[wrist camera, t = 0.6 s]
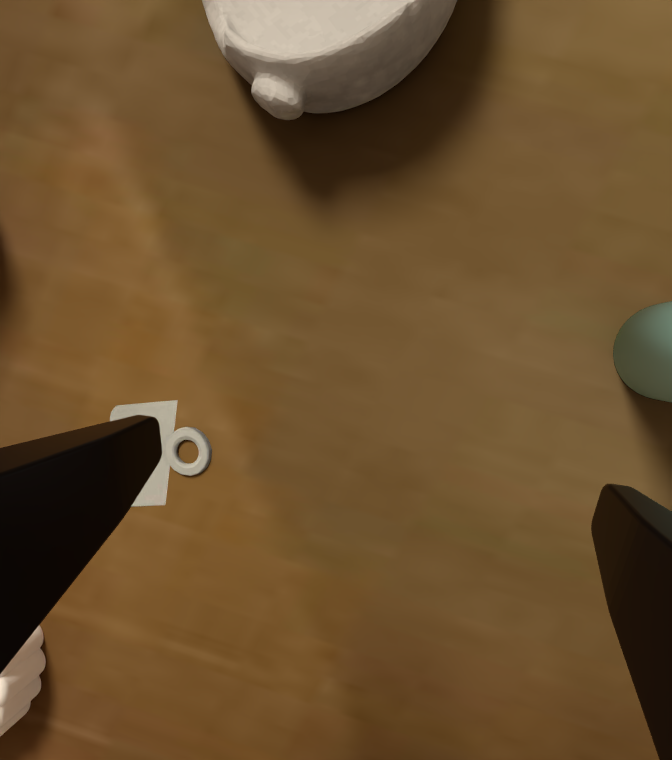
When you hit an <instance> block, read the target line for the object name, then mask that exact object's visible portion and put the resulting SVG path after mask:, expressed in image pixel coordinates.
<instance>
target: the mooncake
mask: <svg viewBox="0 0 672 760" xmlns="http://www.w3.org/2000/svg"><path fill="white" fill-rule="evenodd" d="M43 640H44V636H43V631H42V629H41V627H40V626H38V627H37V628H36V630H35V631H34V632H33V633H32V635H31V636H30V637H29V639H28V640H27V641H26V642H25V644H24V645H23V646H22V647H21V649H20V650H19V651H18V652H17V654H16V655H15V656H14V658H13V659H12V660H11V661H10V663H9V664H8V665H7V666H6V668H5V669H4V670H3V671H2V673H1V674H0V736H2V735H3V734H4V733H5V732H6V731H7V730H8V729H9V728H10V727H12V726H13V725H14V724H15V723H16V722H17V721H18V720H19V719H21V718H22V717H23V716H24V715H25V714H26V713H27V712H28V710H29V708H30V705H31V700H32V699H33V698H34V697H36V696H37V694H38V693H39V692H40V689H41V679H40V676H39V675H40V674H41V673H42V671H43V670H44V668H45V665H46V659H45V655H44V653H43V651H42V650H41V649H40V647H41V645H42V644H43Z"/></svg>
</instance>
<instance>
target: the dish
mask: <svg viewBox="0 0 672 760" xmlns="http://www.w3.org/2000/svg"><path fill="white" fill-rule="evenodd" d="M202 2H203V5H204V9H205V12H206V15H207V18H208V21H209V24H210V26H211V29H212V31H213V33H214V36H215V39H216V41H217V44H218V46H219V48H220V50H221V51H222V54H223V55H224V57H225V58H226V60H227V61H228V62H229V63H230V64H231V66H232V67H233V68H234V69H235V70H236V71H237V72H238V73H239V74H240V75H241V76H242V77H243V78H244V79H245V80H246V81H247V82H249V83H250V84H251V85H252V88H251V92H252V96H253V98H254V99H255V101H256V102H257V103H258V104H259V105H260V106H261V107H262V108H263V109H265V110H266V111H268V112H269V113H270V114H271V115H272V116H274V117H276V118H279V119H283V120H294V119H296V118H298V117H300V116H301V115H302V113H303V112H309V113H330V112H338V111H343V110H346V109H350V108H353V107H356V106H359V105H361V104H364V103H366V102H369V101H371V100H373V99H375V98H377V97H379V96H380V95H382V94H383V93H385V92H386V91H388V90H389V89H391V88H392V87H394V86H395V85H397V84H398V83H399V82H400V81H401V80H403V79H404V78H405V77H406V76H407V75H408V74H409V73H410V72H411V71H413V70H414V69H415V68H416V67H417V66H418V64H419V63H420V62H421V61H422V60H423V59H424V58H425V56H426V55H427V54H428V53H429V51H430V50H431V48H432V47H433V46H434V44H435V43H436V41H437V40H438V38H439V37H440V35H441V33H442V32H443V30H444V29H445V27H446V25H447V23H448V21H449V19H450V17H451V15H452V13H453V10H454V7H455V5H456V2H457V0H202Z"/></svg>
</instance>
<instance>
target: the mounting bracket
mask: <svg viewBox="0 0 672 760" xmlns="http://www.w3.org/2000/svg"><path fill="white" fill-rule="evenodd" d="M176 409H177V400H173V401H162V402H151V403H140V404H129V405H118V406H116V407H115V408H114V409H113V410H112V412H111V416H110V421H114V420H118V419H122V418H126V417H130V416H134V415H145V416H152V417H155V418H156V419H157V420H158V422H159V426H160V435H161V443H162V456H161V459H160V462H159V464H158V465H157V467H156V468H155V470H154V471H153V473H152V475H151V476H150V478H149V479H148V481H147V482H146V484H145V486H144V487H143V489H142V490H141V492H140V493H139V495H138V497H137V498H136V500H135V501H134V503H133V504H132V506H152V505H165V503H166V494H167V486H168V477H169V469H170V465H171V467H172V468H173V469H174V470H175V471H177V472H178V473H180V474H183V475H190V476H193V475H196V474H200V473H201V472H203V471H204V470H205V469H206V468H207V467H208V465H209V463H210V461H211V454H212V449H211V445H210V442H209V440H208V438H207V437H206V436H205V434H204V433H203V432H201V431H199V430H198V429H196V428H193V427H183V428H180V429H177V430H176V431H175V432H174V426H175V417H176ZM183 440H191V441H193V442H195V444H196V445H197V446H198V449H199V456H198V458H197V460H196V461H195V462H194V463H192V464H188V463H185V462H183V461H182V460H181V459H180V458H179V456H178V452H177V451H178V446H179V444H180V442H182V441H183Z"/></svg>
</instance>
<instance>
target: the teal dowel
mask: <svg viewBox="0 0 672 760" xmlns="http://www.w3.org/2000/svg"><path fill="white" fill-rule="evenodd" d="M613 357H614V363H615V367H616V370H617V372H618V374H619V376H620V377H621V379H622V380H623V381H624V383H625V384H626V385H627V386H628V387H630V388H631V389H632V390H633V391H635V392H637V393H638V394H640V395H643V396H645V397H648V398H652V399H656V400H661V401H666V402H672V301H670V302H665V303H661V304H656V305H652V306H649V307H647V308H644V309H642V310H640V311H639V312H637V313H636V314H634V315H633V316H632V317H630V318H629V319H628V320H627V321H626V322H625V323H624V325H623V326H622V328H621V329H620V331H619V333H618V334H617V337H616V340H615V343H614V350H613Z"/></svg>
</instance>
